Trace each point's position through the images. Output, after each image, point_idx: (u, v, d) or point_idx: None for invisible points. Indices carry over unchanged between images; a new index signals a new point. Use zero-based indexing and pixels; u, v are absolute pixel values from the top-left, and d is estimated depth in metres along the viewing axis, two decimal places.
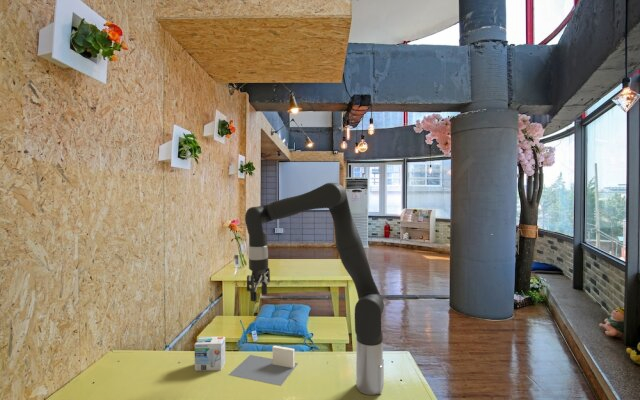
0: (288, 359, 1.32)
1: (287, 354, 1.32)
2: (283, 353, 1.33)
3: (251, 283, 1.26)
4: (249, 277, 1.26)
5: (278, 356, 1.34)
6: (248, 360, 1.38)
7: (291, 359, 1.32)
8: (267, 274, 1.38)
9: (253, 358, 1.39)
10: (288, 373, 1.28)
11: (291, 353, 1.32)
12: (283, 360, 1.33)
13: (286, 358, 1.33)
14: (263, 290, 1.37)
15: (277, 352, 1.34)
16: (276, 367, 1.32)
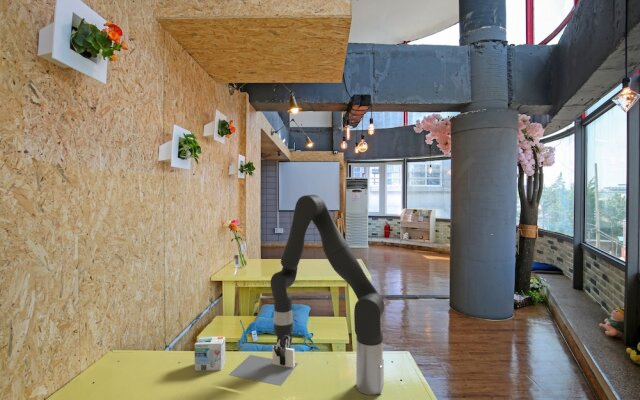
0: (288, 359, 1.32)
1: (287, 354, 1.32)
2: None
3: (279, 352, 1.29)
4: (276, 349, 1.28)
5: (278, 356, 1.34)
6: (248, 360, 1.38)
7: (291, 359, 1.32)
8: (289, 340, 1.37)
9: (253, 358, 1.39)
10: (288, 373, 1.28)
11: (291, 353, 1.32)
12: None
13: (286, 358, 1.33)
14: None
15: None
16: (276, 367, 1.32)
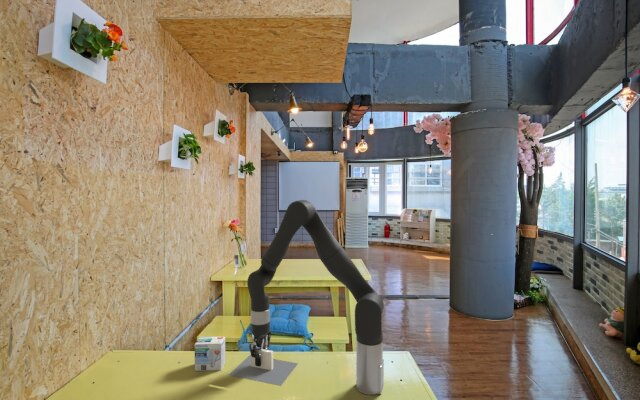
0: (266, 361, 1.31)
1: (265, 356, 1.31)
2: (261, 355, 1.31)
3: (254, 352, 1.27)
4: (251, 347, 1.26)
5: None
6: (248, 360, 1.38)
7: (269, 361, 1.30)
8: (268, 338, 1.37)
9: None
10: (288, 373, 1.28)
11: (269, 355, 1.30)
12: (261, 362, 1.31)
13: (264, 360, 1.31)
14: None
15: None
16: (276, 367, 1.32)
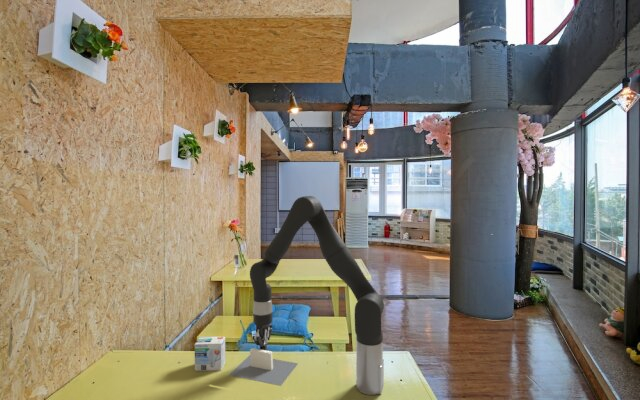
0: (266, 362, 1.30)
1: (265, 357, 1.30)
2: (261, 356, 1.31)
3: (258, 342, 1.30)
4: (255, 339, 1.29)
5: (256, 359, 1.32)
6: (248, 360, 1.38)
7: (269, 362, 1.30)
8: (269, 331, 1.38)
9: None
10: (288, 373, 1.28)
11: (269, 356, 1.30)
12: (261, 362, 1.31)
13: (264, 361, 1.31)
14: None
15: (255, 355, 1.32)
16: (276, 367, 1.32)
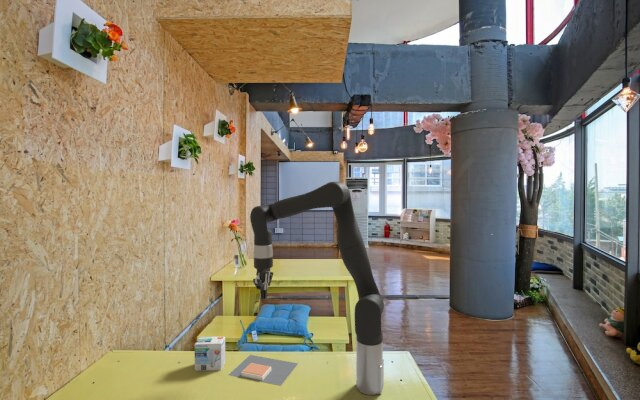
0: None
1: None
2: None
3: (259, 285, 1.30)
4: (255, 281, 1.29)
5: None
6: (248, 360, 1.38)
7: None
8: (269, 277, 1.38)
9: (253, 358, 1.39)
10: (288, 373, 1.28)
11: None
12: None
13: None
14: None
15: None
16: (276, 367, 1.32)
